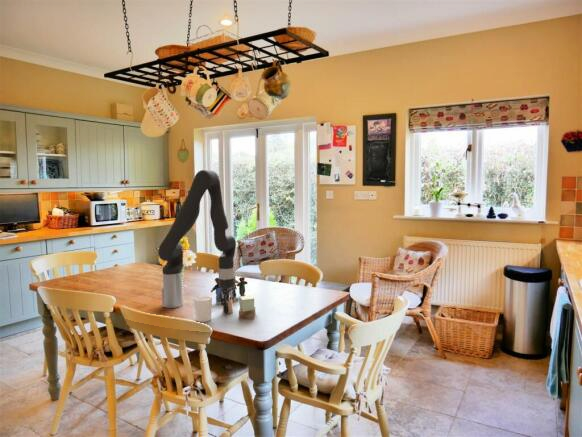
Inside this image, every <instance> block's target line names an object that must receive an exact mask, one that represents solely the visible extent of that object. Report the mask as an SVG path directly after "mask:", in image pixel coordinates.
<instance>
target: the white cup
mask: <svg viewBox="0 0 582 437" xmlns="http://www.w3.org/2000/svg"><path fill="white" fill-rule="evenodd" d="M193 300H194V311H195V319H196V322H200V323H205V322H209V321H211V320H212V306H213V303H212V300H213V299H212V296H209V295H202V296H201V295H200V296H196V297H195V298H194V299H193Z"/></svg>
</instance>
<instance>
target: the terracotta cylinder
mask: <svg viewBox="0 0 582 437" xmlns="http://www.w3.org/2000/svg"><path fill="white" fill-rule="evenodd" d="M224 303H225V302H224ZM233 305H234V304H233V301H232V299H230V300H229V301H228V313H224V309H223V308H222V314H225V315H229V314H233V311H234V309H233V307H234V306H233Z"/></svg>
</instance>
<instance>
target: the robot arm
mask: <svg viewBox="0 0 582 437" xmlns="http://www.w3.org/2000/svg"><path fill="white" fill-rule="evenodd" d="M191 183H192V184H191V185H190V188H189V191H188V193H187V195H186V197H185V200H184V201H183V204H182V205H181V207H180V209H179V211H178V213H177V215H176V217H175V219H174V221H173V223H172V225H171V226H170V229H169V231H168V233H167V234H166V235H165V237H164V239H163V240H162V242H161V243H160V245H159V247H158V251H157V252H158V256H159V259H160V260H162V261H166V263H165V265H164V266H163V267H162V283H163V284H162V288H161V300H162V301H161V302H162V303H161V304H162V306H161V307H163V308H167V309H175V308H180V307H182V306H183V305H184V303H183V300H184V298H183V282H182V280H183V279H182V277H183V276H182V268H183V266H184V263H183V262H184V260H183V259H184V250H183V246H182V243H180V241H181V240H182V239H183V238H184V237H185V235H187V233H188V232H189V231H190V230H191V229H192V228H193V227H194V225H195V224H196V222H197V220H198V218H199V216H200V215H199V214H200V211H201V201H202V198H203V197H204V194H206V191H208V194H209V199H210V209H209V214H210V219H211V223H212V226H213V240H214V241H213V242H214V246H215V247H216V249H217V251H220V252H222V254H221V255H220V256H219V257H218V278H219V287H221V288H223V291H222V294H220V298H221V303H220V304H221V306H222V310H223V309H224V313H228V301H229V300H230V299H233V290H234V288H233V287H234V286H235V285H236V283H235V279H236V274H235V267H234V262H235V261H234V258H235V253H236V248H237V242H236V239H235V237H234V236H233V235H232V234H227V230H228V229H229V224H228V220H227V216H226V213H225V209H224V208H225V207H224V204H223V197H222V189H221V180H220V176H219V174H218V172H216V171H214V170H212V169H202V170H201V169H200V170H199V171H198V172H197V173H196V174H195V176H194V178H193V181H192V182H191ZM230 295H231V296H230ZM224 302H225V303H224ZM224 313H223V314H224Z"/></svg>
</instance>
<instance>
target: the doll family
mask: <svg viewBox="0 0 582 437" xmlns="http://www.w3.org/2000/svg"><path fill="white" fill-rule="evenodd" d="M245 279H246V277H244V276H241V277H239V278H238V280H237V279H236V278H235V286H234V287H233V288H234V290H233V299H232V302H236V301H237V300H236V299H237V292H236V291H237V287H238V289H239V290H238V293H239V298H240V297H242V296H246V295H245V293H246V286H245V285H248V281H246V280H245ZM214 281H215V285H214V286H213V287H212V289H211V290H210V293H213V292H214V291H215V304H216V305H220V304H221V298H220V294H222V291H223V288H221V287H219V277H216V278H214ZM230 296H231V295H230Z"/></svg>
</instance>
